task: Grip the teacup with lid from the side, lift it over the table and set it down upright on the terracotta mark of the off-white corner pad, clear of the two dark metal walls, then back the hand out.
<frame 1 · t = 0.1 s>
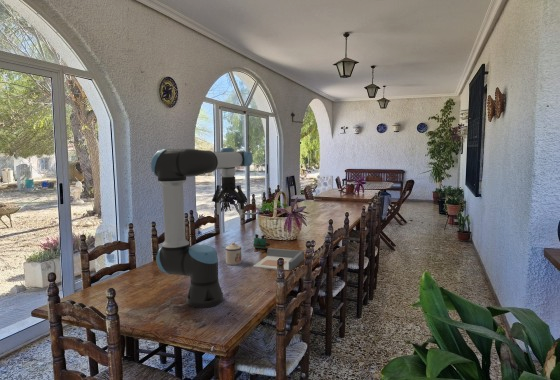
hand: (229, 214, 210), 28 cm above the table, tool pointing down, fingers open, 13 cm apart
binoculars: (261, 250, 240), on the table
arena: (279, 263, 212), on the table
teacup with lid: (235, 262, 216), on the table
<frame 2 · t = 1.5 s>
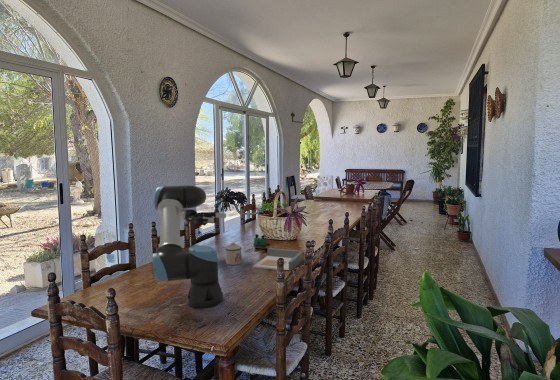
hand: (219, 218, 217), 25 cm above the table, tool horizontal, fingers open, 13 cm apart
nothing on the table moved.
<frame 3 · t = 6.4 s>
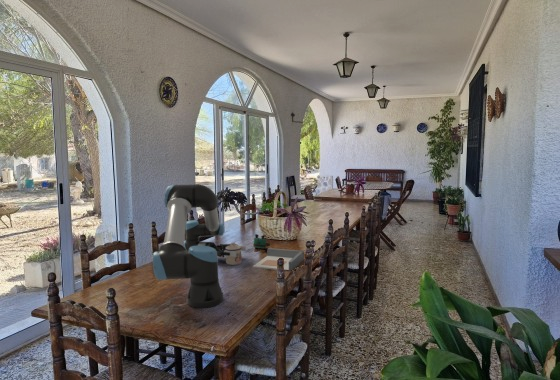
hand: (240, 251, 214), 7 cm above the table, tool horizontal, fingers closed on teacup with lid, 12 cm apart
teacup with lid: (235, 262, 216), on the table, touching gripper
everything else where it was.
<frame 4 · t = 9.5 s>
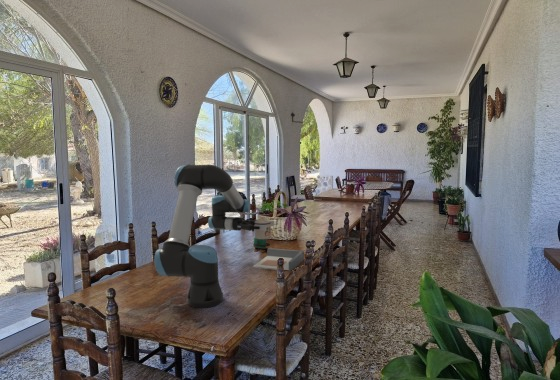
hand: (270, 225, 209), 22 cm above the table, tool horizontal, fingers closed on teacup with lid, 12 cm apart
teacup with lid: (263, 237, 211), point 15 cm above the table, touching gripper
everything else where it was.
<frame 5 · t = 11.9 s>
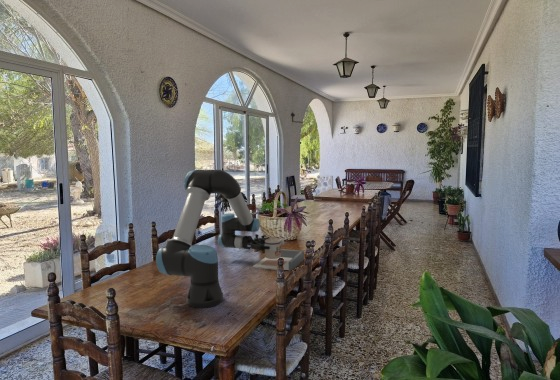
hand: (280, 244, 208), 11 cm above the table, tool horizontal, fingers closed on teacup with lid, 12 cm apart
teacup with lid: (274, 256, 210), point 5 cm above the table, touching gripper
everything else where it was.
when the fingers open (9 cm above the table, at t = 13.2 s): teacup with lid moves 2 cm, resting on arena.
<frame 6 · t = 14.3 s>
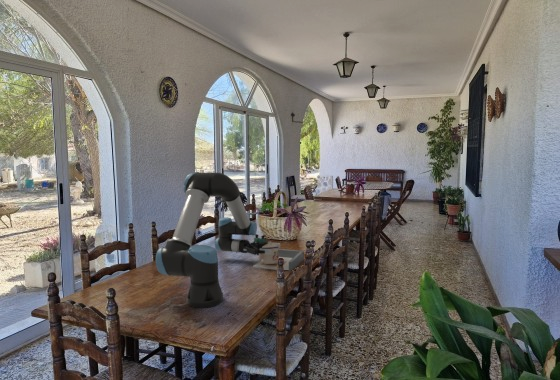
hand: (275, 248, 209), 9 cm above the table, tool horizontal, fingers open, 13 cm apart
teacup with lid: (272, 263, 208), point 1 cm above the table, touching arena, gripper
everything else where it was.
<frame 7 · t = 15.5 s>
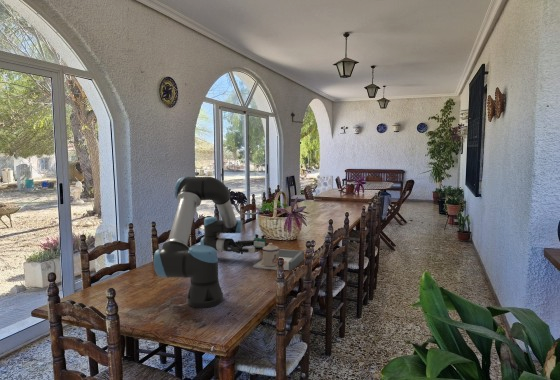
hand: (259, 247, 212), 9 cm above the table, tool horizontal, fingers open, 13 cm apart
teacup with lid: (271, 264, 208), point 1 cm above the table, touching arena
everything else where it was.
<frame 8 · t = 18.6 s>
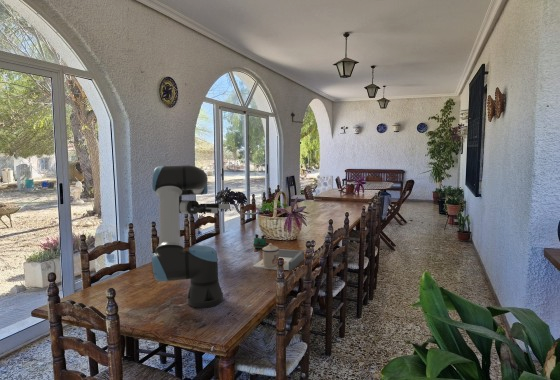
hand: (223, 208, 206), 32 cm above the table, tool horizontal, fingers open, 13 cm apart
nothing on the table moved.
at the end: teacup with lid inside the target area on the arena (2.2 cm from its centre), point 0.8 cm above the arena's base; teacup with lid tilted 0°; the gripper is holding nothing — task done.
